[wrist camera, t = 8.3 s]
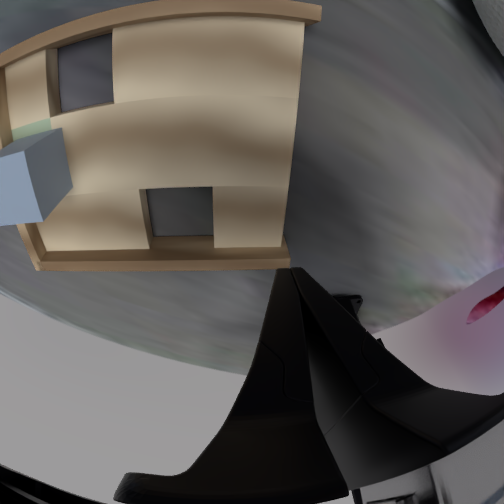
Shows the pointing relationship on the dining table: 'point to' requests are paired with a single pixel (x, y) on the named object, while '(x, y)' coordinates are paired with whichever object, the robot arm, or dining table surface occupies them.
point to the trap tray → (167, 132)
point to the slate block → (33, 177)
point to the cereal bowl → (492, 19)
